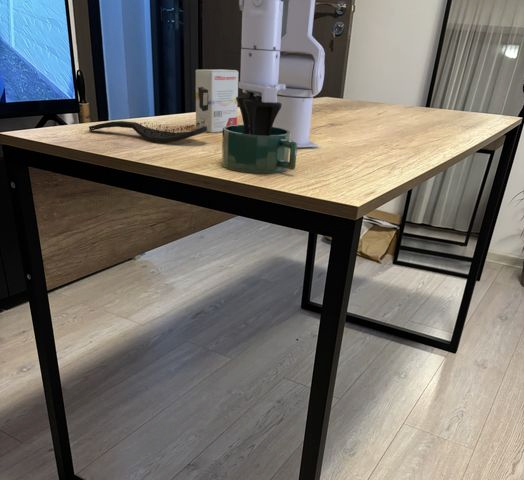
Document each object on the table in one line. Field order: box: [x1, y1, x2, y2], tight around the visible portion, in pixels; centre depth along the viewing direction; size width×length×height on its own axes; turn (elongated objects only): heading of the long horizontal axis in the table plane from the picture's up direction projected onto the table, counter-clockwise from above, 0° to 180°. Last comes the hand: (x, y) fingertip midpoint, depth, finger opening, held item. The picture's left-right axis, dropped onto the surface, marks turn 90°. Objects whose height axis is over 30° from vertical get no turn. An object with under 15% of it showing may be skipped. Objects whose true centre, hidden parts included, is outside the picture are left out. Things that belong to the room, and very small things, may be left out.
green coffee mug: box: [221, 124, 298, 174], centre depth 84 cm, size 14×11×6 cm
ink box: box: [195, 69, 240, 134], centre depth 114 cm, size 9×5×12 cm, turn 141°
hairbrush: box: [88, 120, 207, 144], centre depth 103 cm, size 8×4×25 cm
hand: (255, 147), depth 85 cm, fingers closed on rook chess piece, 3 cm apart
